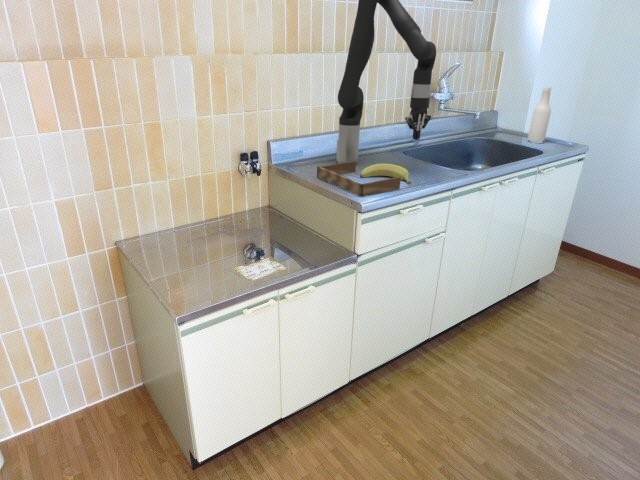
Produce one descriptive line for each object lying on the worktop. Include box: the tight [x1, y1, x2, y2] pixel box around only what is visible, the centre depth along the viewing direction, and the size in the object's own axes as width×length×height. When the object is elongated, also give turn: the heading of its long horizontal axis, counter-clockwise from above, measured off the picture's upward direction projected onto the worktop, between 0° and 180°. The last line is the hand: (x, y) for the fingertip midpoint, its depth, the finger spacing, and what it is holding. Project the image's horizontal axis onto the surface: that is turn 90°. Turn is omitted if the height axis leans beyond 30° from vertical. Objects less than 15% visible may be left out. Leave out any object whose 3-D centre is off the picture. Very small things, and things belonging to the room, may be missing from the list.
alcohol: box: [527, 86, 552, 141], centre depth 255 cm, size 9×9×30 cm
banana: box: [359, 163, 412, 185], centre depth 184 cm, size 14×6×20 cm
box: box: [316, 161, 402, 197], centre depth 178 cm, size 28×19×4 cm
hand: (416, 139), depth 189 cm, fingers closed
